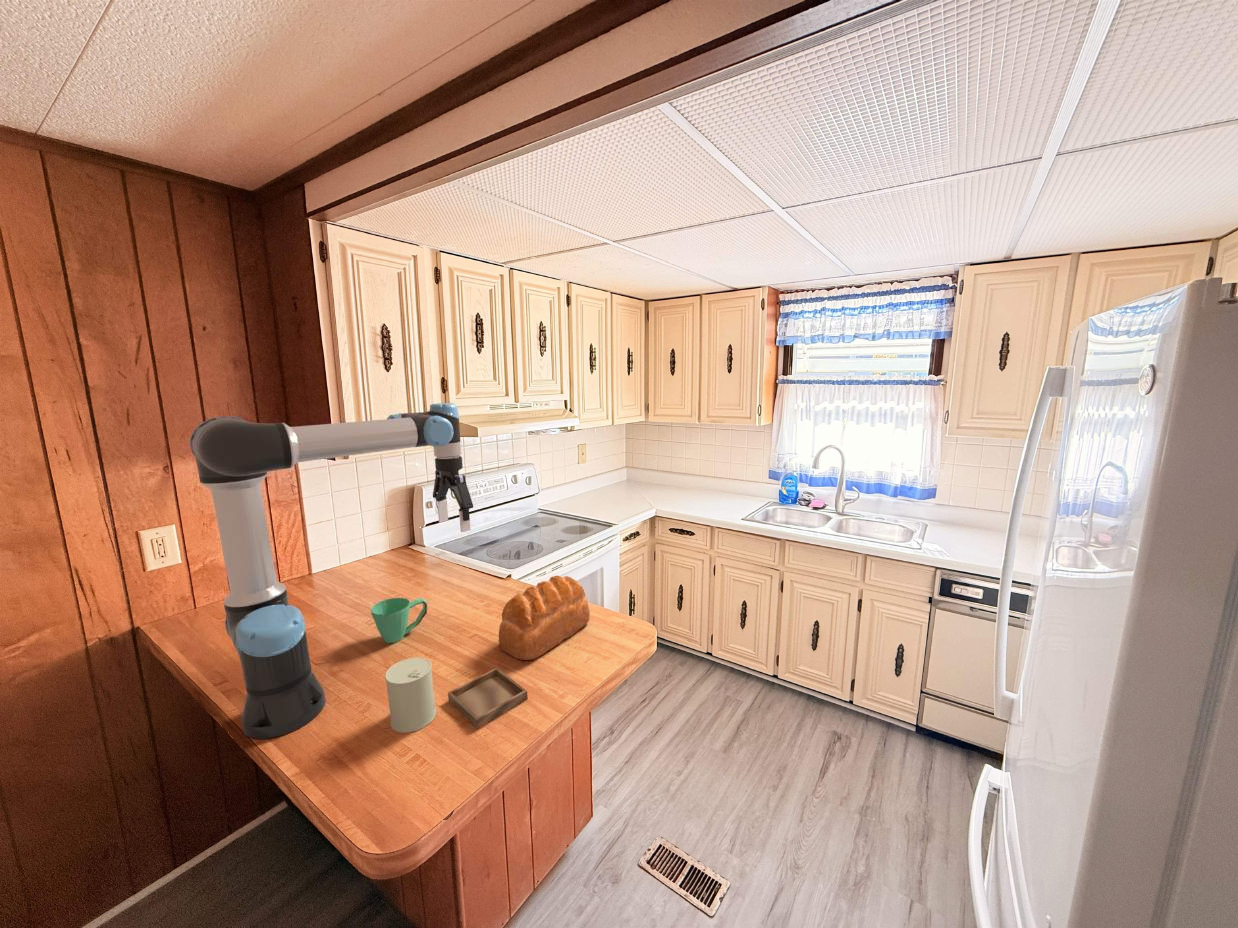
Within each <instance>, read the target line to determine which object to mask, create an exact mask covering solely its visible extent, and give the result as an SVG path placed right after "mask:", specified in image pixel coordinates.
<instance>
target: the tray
mask: <svg viewBox="0 0 1238 928" xmlns="http://www.w3.org/2000/svg"><path fill="white" fill-rule="evenodd" d="M447 697H448V698H447V700H448V702H449V703H450V704H452V706H453V707H454V708H455V709H456V710H457V711H458V712H460V714H462V716H463V717H465V718H466V720H468V722H470V723H471V724H472V725H473V726H474V727H475V728H476V729H478V730H479V728H482V727H484V726H485V725H486V724H489V723H490V722H492V721H493V720H495V719H496V718H498V717H500V716H502V715H504V714H505V713H507V712H508V711H510V710H511V709H513V708H515V707H518V705H520V704H522V703H523V702H525V701H527V700H528V690H527V689H526V688H524V687H523V686H522V685H520V684H519V683H518V682H516V681H515V680H514V679H512V677H511V676H508V674H506V673H505V672H503V671H502V670H501V669H500V668H498V667H495V668H493V669H491V670H489V671H488V672H486V673H484V674H481V675H480V676H478V677H475V678H474V679H472V680H470V681H468V682H466V683H464V684H463V685H460V686H458V687H456V688H455V689H453V690H451V691H449V692H447Z"/></svg>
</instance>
